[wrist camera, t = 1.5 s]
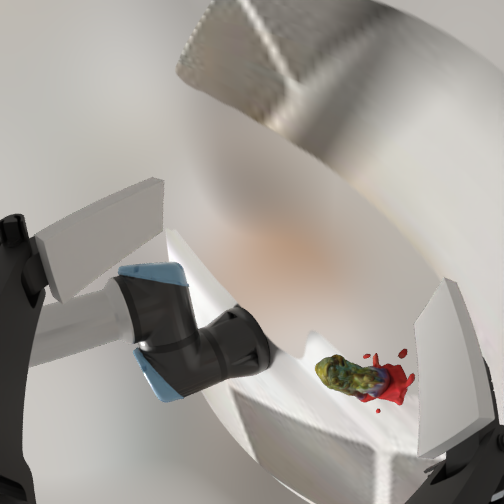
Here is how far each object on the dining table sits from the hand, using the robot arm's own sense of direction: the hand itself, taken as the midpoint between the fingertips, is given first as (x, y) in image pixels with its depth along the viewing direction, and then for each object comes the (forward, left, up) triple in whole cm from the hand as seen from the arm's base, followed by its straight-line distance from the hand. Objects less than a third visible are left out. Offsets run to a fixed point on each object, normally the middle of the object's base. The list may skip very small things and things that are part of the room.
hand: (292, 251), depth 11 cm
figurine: (-16, -10, -19) cm, 27 cm away
